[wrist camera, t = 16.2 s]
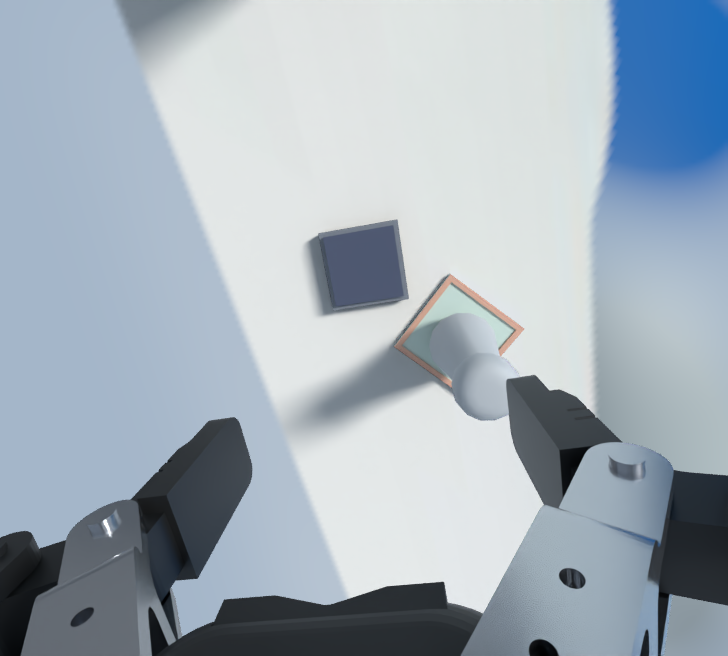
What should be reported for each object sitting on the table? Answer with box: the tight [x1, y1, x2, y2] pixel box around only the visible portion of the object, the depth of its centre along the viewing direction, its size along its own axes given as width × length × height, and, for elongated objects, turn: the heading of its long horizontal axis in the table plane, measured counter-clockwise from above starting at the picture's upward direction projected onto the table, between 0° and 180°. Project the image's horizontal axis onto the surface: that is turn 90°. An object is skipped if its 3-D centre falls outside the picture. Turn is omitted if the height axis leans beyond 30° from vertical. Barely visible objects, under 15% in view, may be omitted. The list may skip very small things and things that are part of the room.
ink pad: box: [319, 220, 409, 310], centre depth 35 cm, size 7×7×2 cm
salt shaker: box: [429, 313, 519, 420], centre depth 30 cm, size 6×6×13 cm
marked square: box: [394, 274, 524, 388], centre depth 37 cm, size 8×8×1 cm
